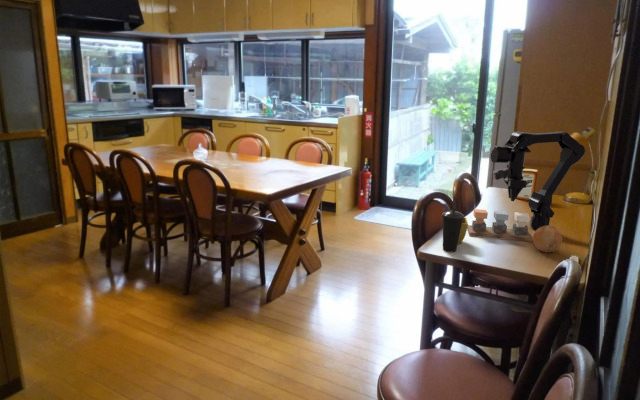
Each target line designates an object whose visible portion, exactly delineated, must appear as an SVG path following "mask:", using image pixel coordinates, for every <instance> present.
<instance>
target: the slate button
mask: <svg viewBox="0 0 640 400" xmlns="http://www.w3.org/2000/svg"><path fill="white" fill-rule="evenodd" d="M509 215H510V214H509V213H508V211H503V210H494V211H493V219H494V220H495V222H496V225H500V226H504V223H505V221H509V217H510V216H509Z"/></svg>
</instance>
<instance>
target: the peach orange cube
mask: <svg viewBox="0 0 640 400" xmlns="http://www.w3.org/2000/svg"><path fill="white" fill-rule="evenodd" d="M488 214H489V213H488V211H487V210H486V209H478V208H477V209H476V208H474V209H473V217H474V219H475V220H474V221H475V223H476V224H483V223H484V221H485V220H487V219H488Z"/></svg>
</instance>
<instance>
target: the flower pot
mask: <svg viewBox="0 0 640 400" xmlns="http://www.w3.org/2000/svg"><path fill="white" fill-rule="evenodd" d="M468 225H469V222H468V219H467V217H465V216H464V218H463V221H462V225H461V230H460V235H459V240H458V245H460V244H461V243H462V242H463V241H464V239H465V237H466V235H467V232H468V230H467V227H468Z"/></svg>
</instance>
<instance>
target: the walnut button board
mask: <svg viewBox="0 0 640 400" xmlns="http://www.w3.org/2000/svg"><path fill="white" fill-rule="evenodd" d="M475 221H476V220H475V219H474V220H472V224H471V225H470V224H468V227H467V234H468V236H469V237H476V238H477V237H479V238H488V239H489V238H490V239H498V240H499V239H501V240H511V241H523V242H534V241H533V235H531V233H530V232H529V227H528V226H527V225H526V224H525V228H523V227H517V226H516V223H513V224H512V228H508V225H507V224H506V223H505V222H504V226H500V225H496V221H492V226H487V223H486V222H485V220H484V223H483V224H476V223H475Z"/></svg>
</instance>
